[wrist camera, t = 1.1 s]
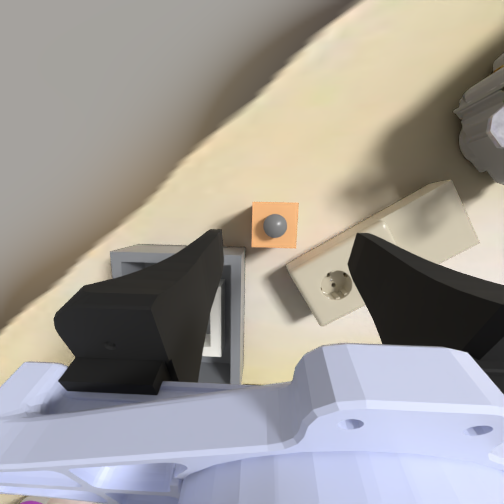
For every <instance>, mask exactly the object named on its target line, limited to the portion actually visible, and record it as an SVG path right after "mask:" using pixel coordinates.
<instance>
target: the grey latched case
mask: <svg viewBox="0 0 504 504" xmlns="http://www.w3.org/2000/svg"><path fill="white" fill-rule="evenodd" d="M453 113H454V114H455V113H456V115H457V116H458V117H459V119H462V121H461V123H462V129H461V132H460V135H459V146H460V150H461V152H462V153H463V155H464V157H465V158H466V159H467V160H469V161H470V162H472V163H473V165H474V166H475V167H476V169H477V170H478V171H479V172H484V171H487V172H488V173H489V175H490V176H491V177H492V179H493V180H494V181H495V182H497V183H499V184H503V185H504V53H503V54H502V55H501V56H500V57H498V58H497V59H496V60H495V61H494V64H493V73H492V74H491V75H488V77H486V78H485V79H483V80H482V81H480V82H478V83H477V84H475V85H474V86H472V87H471V88H469V89H468V90H467V91H466V92H465V93H464V94H463V96H462V98H461V99H460V103H459V108H457V109H455V110H453Z"/></svg>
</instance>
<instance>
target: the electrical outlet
mask: <svg viewBox="0 0 504 504" xmlns="http://www.w3.org/2000/svg"><path fill="white" fill-rule="evenodd" d="M357 233H370V234H373V235H375V236H378V237H380V238H382V239H384V240H386V241H388V242H390V243H392V244H394V245H396V246H398V247H400V248H402V249H404V250H406V251H409V252H411V253H413V254H415V255H417V256H419V257H422V258H424V259H426V260H428V261H431V262H433V263H436V264H440V263H442V262H444V261H446V260H448V259H450V258H452V257H454V256H456V255H458V254H460V253H462V252H464V251H466V250H468V249H469V248H471V247H473V246H475V245H477V244H479V243H480V242H479V240H478V237H477V235H476V233H475V231H474V228H473V226H472V224H471V222H470V219H469V217H468V215H467V213H466V210H465V208H464V206H463V204H462V202H461V199H460V197H459V195H458V193H457V190H456V188H455V186H454V184H453V181H452V180H447V181H441V182H436V183H430V184H428V185H426V186H424V187H423V188H421V189H419V190H417V191H416V192H414V193H412V194H410V195H408V196H407V197H405V198H403V199H401V200H400V201H398V202H396V203H394V204H392V205H391V206H389V207H387V208H385V209H384V210H382V211H380V212H378V213H376V214H375V215H373V216H371V217H369V218H368V219H366V220H364V221H362V222H360V223H359V224H357V225H355V226H353V227H352V228H350V229H348V230H346V231H344V232H343V233H341V234H339V235H337V236H336V237H334V238H332V239H330V240H329V241H327V242H325V243H323V244H321V245H320V246H318V247H316V248H314V249H313V250H311V251H309V252H307V253H305V254H304V255H302V256H300V257H298V258H297V259H295V260H293V261H291V262H289V263H288V264H287V265H286V268H287V270H288V272H289V274H290V276H291V278H292V280H293V281H294V283H295V285H296V286H297V288H298V290H299V291H300V293H301V295H302V296H303V298H304V300H305V302H306V303H307V305H308V307H309V308H310V310H311V312H312V313H313V315H314V317H315V318H316V320H317V322H318V323H319V325H320V326H325V325H327V324H329V323H331V322H333V321H335V320H337V319H339V318H341V317H343V316H345V315H347V314H349V313H351V312H353V311H355V310H357V309H359V308H361V307H363V306H365V303H364V301H363V299H362V297H361V295H360V293H359V291H358V290H357V288H356V286H355V284H354V282H353V280H352V277H351V274H350V271H349V268H348V265H347V264H348V260H349V257H350V254H351V250H352V247H353V244H354V240H355V237H356V234H357Z"/></svg>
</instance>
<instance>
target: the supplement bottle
mask: <svg viewBox="0 0 504 504" xmlns="http://www.w3.org/2000/svg"><path fill="white" fill-rule="evenodd" d="M49 499H50V498H48V497H38V496H27V497H26V498H25V499H23V500H22V501H21V502H20V504H46V503H47V502H48V501H49Z"/></svg>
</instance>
